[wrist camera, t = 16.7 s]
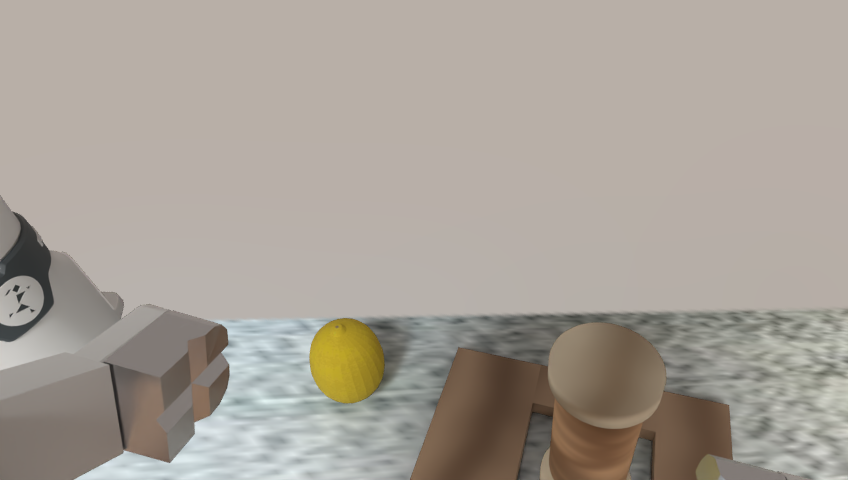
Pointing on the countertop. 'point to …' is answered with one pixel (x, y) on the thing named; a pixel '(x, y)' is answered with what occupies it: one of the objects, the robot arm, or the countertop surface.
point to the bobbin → (600, 401)
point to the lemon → (346, 360)
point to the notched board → (530, 392)
